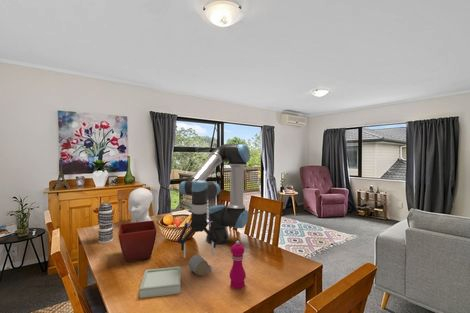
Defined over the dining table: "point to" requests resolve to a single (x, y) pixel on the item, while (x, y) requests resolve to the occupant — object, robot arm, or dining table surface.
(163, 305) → the dining table surface
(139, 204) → the head sculpture
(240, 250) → the pepper mill
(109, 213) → the decorative candle
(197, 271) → the ceramic mug
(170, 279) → the display plinth
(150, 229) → the plant pot
